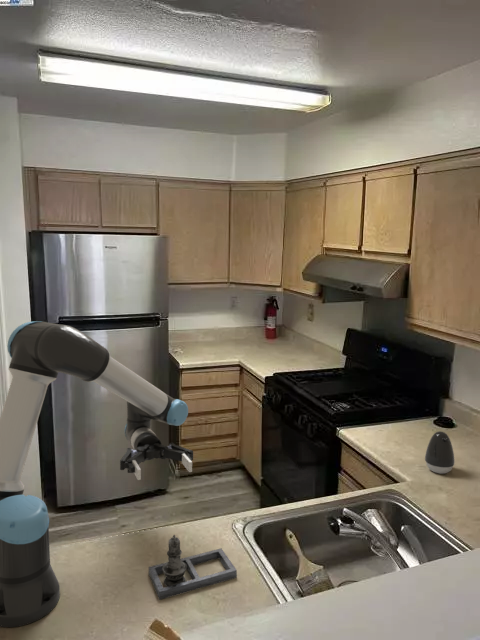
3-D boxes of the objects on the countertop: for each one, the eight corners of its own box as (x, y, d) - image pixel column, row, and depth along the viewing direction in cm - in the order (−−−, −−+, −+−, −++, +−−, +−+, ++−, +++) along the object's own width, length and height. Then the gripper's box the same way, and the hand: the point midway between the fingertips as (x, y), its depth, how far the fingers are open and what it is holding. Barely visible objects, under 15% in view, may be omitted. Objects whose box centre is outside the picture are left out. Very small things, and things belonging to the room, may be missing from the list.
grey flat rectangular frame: (159, 600, 111) (159, 591, 111) (148, 574, 120) (148, 567, 120) (236, 577, 119) (236, 570, 119) (221, 555, 128) (221, 548, 128)
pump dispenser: (431, 477, 175) (433, 436, 173) (420, 465, 186) (422, 427, 184) (459, 476, 176) (461, 436, 174) (446, 464, 186) (448, 426, 184)
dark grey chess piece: (187, 573, 121) (187, 527, 119) (186, 588, 115) (185, 541, 113) (164, 573, 120) (163, 528, 119) (161, 589, 115) (160, 542, 113)
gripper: (186, 450, 149) (210, 477, 130) (103, 461, 139) (116, 492, 120) (186, 427, 148) (211, 450, 129) (103, 436, 138) (116, 463, 119)
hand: (165, 470), depth 124 cm, fingers open, 13 cm apart
